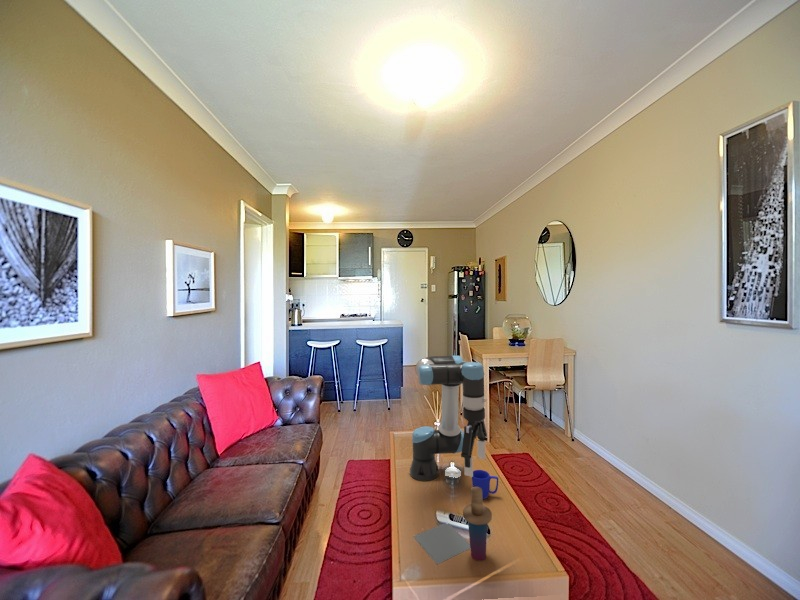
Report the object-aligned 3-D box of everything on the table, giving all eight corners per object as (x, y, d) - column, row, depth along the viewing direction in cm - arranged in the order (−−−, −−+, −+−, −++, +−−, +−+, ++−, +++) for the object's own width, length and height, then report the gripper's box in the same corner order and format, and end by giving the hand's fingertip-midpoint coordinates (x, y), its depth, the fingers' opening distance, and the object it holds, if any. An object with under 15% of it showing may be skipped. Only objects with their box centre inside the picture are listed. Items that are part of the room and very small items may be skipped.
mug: (499, 502, 152) (499, 480, 152) (472, 500, 155) (471, 478, 155) (498, 492, 160) (497, 470, 160) (472, 490, 163) (471, 469, 163)
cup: (466, 551, 123) (465, 510, 123) (484, 549, 124) (483, 508, 124) (471, 566, 117) (470, 522, 117) (491, 564, 117) (490, 521, 117)
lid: (457, 512, 122) (456, 487, 122) (478, 503, 127) (477, 479, 127) (475, 528, 114) (474, 501, 113) (498, 518, 118) (497, 492, 118)
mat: (413, 539, 131) (413, 536, 131) (447, 524, 138) (446, 522, 138) (437, 567, 117) (436, 564, 117) (473, 549, 124) (473, 546, 124)
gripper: (472, 420, 108) (473, 486, 108) (494, 398, 129) (496, 454, 129) (450, 416, 112) (451, 480, 112) (475, 396, 133) (476, 450, 133)
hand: (475, 466), depth 121 cm, fingers open, 13 cm apart
